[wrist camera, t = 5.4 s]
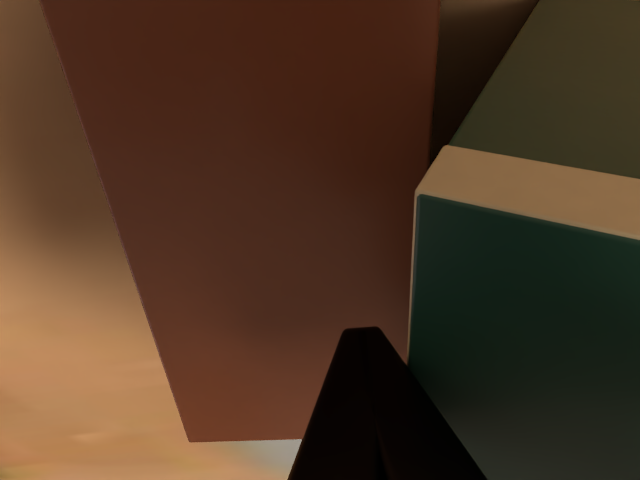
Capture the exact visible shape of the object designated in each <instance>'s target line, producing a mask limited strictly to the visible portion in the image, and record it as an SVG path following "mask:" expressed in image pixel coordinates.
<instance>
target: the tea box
mask: <svg viewBox="0 0 640 480" xmlns="http://www.w3.org/2000/svg"><path fill="white" fill-rule="evenodd" d="M406 365H407V366H408V368H409V369H410V371H411V372H412V373H413V375H414V376H415V378H416V379H417V380H418V382H419V383H420V385H421V386H422V388H423V389H424V390H425V392H426V393H427V395H428V396H429V397H430V399H431V400H432V402H433V403H434V404H435V406H436V407H437V409H438V410H439V411H440V413H441V414H442V416H443V417H444V418H445V420H446V421H447V423H448V424H449V426H450V427H451V428H452V430H453V431H454V433H455V434H456V435H457V437H458V438H459V440H460V441H461V442H462V444H463V445H464V447H465V448H466V449H467V451H468V452H469V454H470V455H471V457H472V458H473V459H474V461H475V462H476V464H477V465H478V466H479V468H480V469H481V471H482V472H483V473H484V475H485V476H486V478H487V479H488V480H640V0H539V2H538V3H537V5H536V6H535V8H534V10H533V11H532V13H531V14H530V16H529V17H528V19H527V21H526V22H525V24H524V25H523V27H522V29H521V30H520V32H519V33H518V35H517V36H516V38H515V40H514V41H513V43H512V44H511V46H510V48H509V49H508V51H507V52H506V54H505V55H504V57H503V59H502V60H501V62H500V63H499V65H498V67H497V68H496V70H495V71H494V73H493V74H492V76H491V78H490V79H489V81H488V82H487V84H486V86H485V87H484V89H483V90H482V92H481V93H480V95H479V97H478V98H477V100H476V101H475V103H474V105H473V106H472V108H471V109H470V111H469V112H468V114H467V116H466V117H465V119H464V120H463V122H462V124H461V125H460V127H459V128H458V130H457V131H456V133H455V135H454V136H453V138H452V139H451V141H450V143H449V144H448V145H446V146H443V148H442V149H441V151H440V152H439V154H438V156H437V157H436V159H435V160H434V162H433V163H432V165H431V166H430V168H429V170H428V171H427V173H426V174H425V176H424V177H423V179H422V181H421V182H420V184H419V185H418V187H417V188H416V190H415V197H414V218H413V239H412V260H411V281H410V302H409V322H408V343H407V364H406Z"/></svg>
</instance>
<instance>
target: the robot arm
mask: <svg viewBox="0 0 640 480" xmlns="http://www.w3.org/2000/svg"><path fill="white" fill-rule="evenodd" d="M288 480H488V479H487V478H486V476H485V475H484V473H483V472H482V471H481V469H480V468H479V466H478V465H477V464H476V462H475V461H474V459H473V458H472V457H471V455H470V454H469V452H468V451H467V449H466V448H465V447H464V445H463V444H462V442H461V441H460V440H459V438H458V437H457V435H456V434H455V433H454V431H453V430H452V428H451V427H450V426H449V424H448V423H447V421H446V420H445V418H444V417H443V416H442V414H441V413H440V411H439V410H438V409H437V407H436V406H435V404H434V403H433V402H432V400H431V399H430V397H429V396H428V395H427V393H426V392H425V390H424V389H423V388H422V386H421V385H420V383H419V382H418V380H417V379H416V378H415V376H414V375H413V373H412V372H411V371H410V369H409V368H408V366H407V365H406V364H405V362H404V361H403V359H402V358H401V357H400V355H399V354H398V352H397V351H396V349H395V348H394V347H393V345H392V344H391V342H390V341H389V340H388V338H387V337H386V335H385V334H384V333H383V331H382V330H381V329H380V328H379V327H377V326H371V327H358V328H347V329H344V330H343V332H342V334H341V336H340V339H339V342H338V344H337V347H336V350H335V352H334V355H333V358H332V361H331V363H330V366H329V369H328V371H327V374H326V377H325V380H324V382H323V385H322V388H321V390H320V393H319V396H318V399H317V401H316V404H315V407H314V409H313V412H312V415H311V418H310V420H309V423H308V426H307V428H306V431H305V434H304V436H303V439H302V442H301V445H300V447H299V450H298V453H297V455H296V458H295V461H294V464H293V466H292V469H291V472H290V474H289V477H288Z"/></svg>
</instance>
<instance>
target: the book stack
mask: <svg viewBox="0 0 640 480" xmlns="http://www.w3.org/2000/svg"><path fill="white" fill-rule="evenodd" d="M39 2H40V5H41V8H42V11H43V14H44V17H45V20H46V23H47V25H48V28H49V31H50V34H51V37H52V40H53V43H54V46H55V49H56V52H57V55H58V58H59V61H60V64H61V67H62V70H63V73H64V76H65V78H66V81H67V84H68V87H69V90H70V93H71V96H72V99H73V102H74V105H75V108H76V111H77V114H78V117H79V120H80V123H81V126H82V128H83V131H84V134H85V137H86V140H87V143H88V146H89V149H90V152H91V155H92V158H93V161H94V164H95V167H96V170H97V173H98V176H99V179H100V181H101V184H102V187H103V190H104V193H105V196H106V199H107V202H108V205H109V208H110V211H111V214H112V217H113V220H114V223H115V226H116V229H117V231H118V234H119V237H120V240H121V243H122V246H123V249H124V252H125V255H126V258H127V261H128V264H129V267H130V270H131V273H132V276H133V279H134V282H135V284H136V287H137V290H138V293H139V296H140V299H141V302H142V305H143V308H144V311H145V314H146V317H147V320H148V323H149V326H150V329H151V332H152V334H153V337H154V340H155V343H156V346H157V349H158V352H159V355H160V358H161V361H162V364H163V367H164V370H165V373H166V376H167V379H168V382H169V385H170V387H171V390H172V393H173V396H174V399H175V402H176V405H177V408H178V411H179V414H180V417H181V420H182V423H183V426H184V429H185V432H186V435H187V438H188V440H189V442H217V441H251V440H285V439H303V436H304V434H305V431H306V428H307V426H308V423H309V420H310V418H311V415H312V412H313V409H314V407H315V404H316V401H317V399H318V396H319V393H320V390H321V388H322V385H323V382H324V380H325V377H326V374H327V371H328V369H329V366H330V363H331V361H332V358H333V355H334V352H335V350H336V347H337V344H338V342H339V339H340V336H341V334H342V332H343V330H344V329H347V328H358V327H371V326H377V327H379V328H380V329H381V330H382V331H383V333H384V334H385V335H386V337H387V338H388V340H389V341H390V342H391V344H392V345H393V347H394V348H395V349H396V351H397V352H398V354H399V355H400V357H401V358H402V359H403V361H404V362H405V364H407V343H408V322H409V302H410V281H411V260H412V239H413V218H414V197H415V190H416V188H417V187H418V185H419V184H420V182H421V181H422V179H423V177H424V176H425V174H426V173H427V171H428V170H429V167H430V153H431V138H432V123H433V109H434V94H435V80H436V65H437V50H438V36H439V21H440V7H441V0H39Z"/></svg>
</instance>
